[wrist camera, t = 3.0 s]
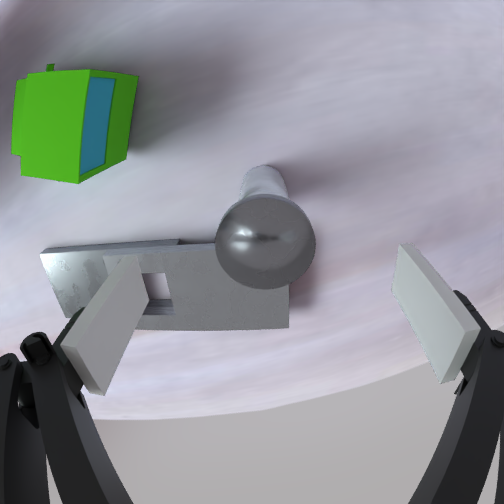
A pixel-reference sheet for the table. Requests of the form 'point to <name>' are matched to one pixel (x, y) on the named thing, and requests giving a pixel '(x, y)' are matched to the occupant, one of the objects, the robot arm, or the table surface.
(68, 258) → the plate with square hole
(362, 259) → the table surface
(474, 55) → the table surface
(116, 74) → the toy car
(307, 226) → the pin
